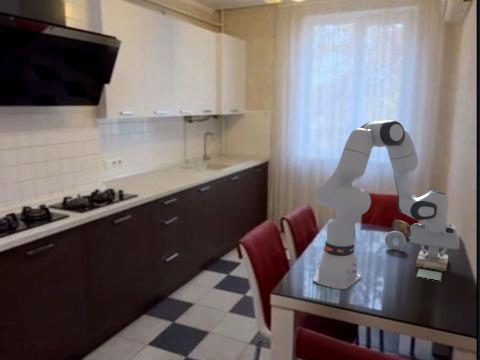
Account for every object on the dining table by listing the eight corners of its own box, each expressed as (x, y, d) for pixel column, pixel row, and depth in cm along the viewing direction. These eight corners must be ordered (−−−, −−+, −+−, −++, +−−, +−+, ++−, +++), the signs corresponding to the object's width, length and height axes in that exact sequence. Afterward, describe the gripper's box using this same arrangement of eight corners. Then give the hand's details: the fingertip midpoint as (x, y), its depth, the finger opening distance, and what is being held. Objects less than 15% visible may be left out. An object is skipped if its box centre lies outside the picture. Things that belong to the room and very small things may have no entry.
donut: (405, 250, 198) (406, 231, 196) (405, 252, 195) (406, 233, 193) (384, 247, 201) (385, 229, 200) (384, 249, 198) (385, 230, 197)
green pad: (440, 281, 160) (440, 280, 160) (416, 277, 165) (416, 275, 164) (441, 274, 168) (441, 272, 168) (418, 270, 172) (419, 268, 172)
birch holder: (446, 272, 170) (446, 265, 170) (416, 266, 176) (416, 260, 175) (447, 260, 184) (448, 254, 183) (419, 255, 190) (420, 250, 189)
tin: (391, 231, 230) (391, 217, 228) (395, 231, 230) (396, 217, 229) (406, 239, 215) (407, 224, 214) (411, 239, 215) (412, 224, 214)
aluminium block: (436, 265, 177) (438, 246, 176) (427, 264, 179) (428, 245, 178) (437, 263, 181) (439, 244, 179) (427, 261, 182) (429, 243, 181)
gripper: (409, 224, 179) (407, 253, 182) (460, 230, 169) (457, 261, 171) (411, 221, 185) (409, 249, 187) (460, 227, 175) (458, 256, 177)
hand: (432, 255), depth 179 cm, fingers open, 6 cm apart
